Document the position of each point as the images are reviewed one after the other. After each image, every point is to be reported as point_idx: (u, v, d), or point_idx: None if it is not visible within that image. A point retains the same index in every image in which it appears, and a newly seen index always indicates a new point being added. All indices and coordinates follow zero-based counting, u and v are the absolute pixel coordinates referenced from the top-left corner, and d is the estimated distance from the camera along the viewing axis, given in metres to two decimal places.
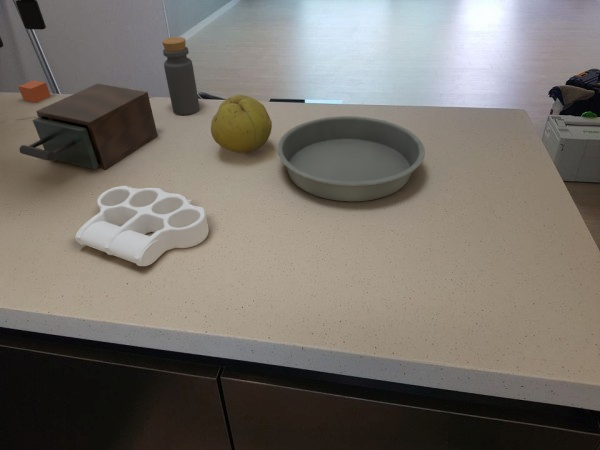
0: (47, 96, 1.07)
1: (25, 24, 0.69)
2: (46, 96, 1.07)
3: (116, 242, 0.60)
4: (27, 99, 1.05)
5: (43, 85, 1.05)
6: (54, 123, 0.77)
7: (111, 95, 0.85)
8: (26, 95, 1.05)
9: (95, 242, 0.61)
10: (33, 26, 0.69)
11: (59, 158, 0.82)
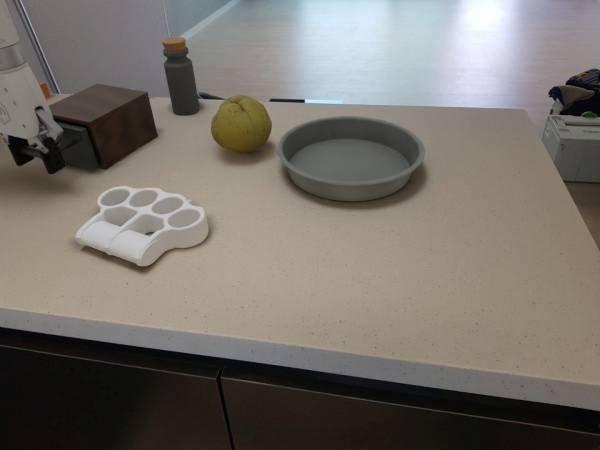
0: (47, 96, 1.07)
1: (20, 162, 0.76)
2: (46, 96, 1.07)
3: (116, 242, 0.60)
4: None
5: (43, 85, 1.05)
6: None
7: (111, 95, 0.85)
8: None
9: (95, 242, 0.61)
10: (27, 160, 0.77)
11: None
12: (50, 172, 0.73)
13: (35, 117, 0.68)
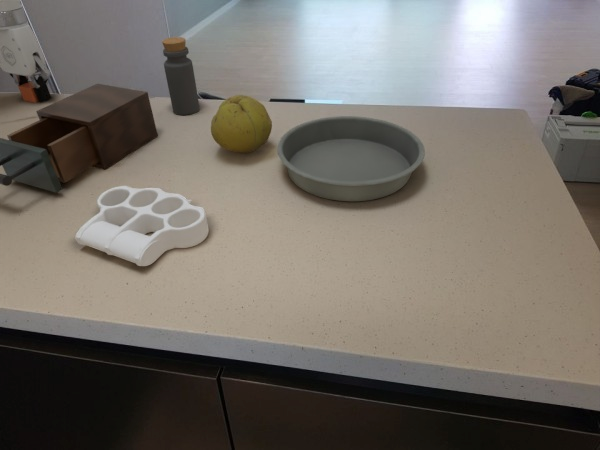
0: None
1: None
2: None
3: (116, 242, 0.60)
4: (27, 99, 1.05)
5: None
6: (13, 143, 0.72)
7: (111, 95, 0.85)
8: (26, 95, 1.05)
9: (95, 242, 0.61)
10: None
11: (20, 180, 0.76)
12: None
13: (33, 60, 0.99)
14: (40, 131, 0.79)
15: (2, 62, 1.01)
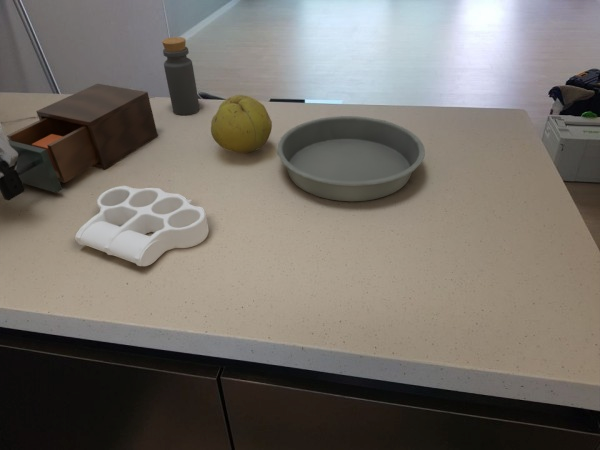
0: None
1: None
2: None
3: (116, 242, 0.60)
4: None
5: None
6: (12, 143, 0.72)
7: (111, 95, 0.85)
8: None
9: (95, 242, 0.61)
10: None
11: None
12: (6, 197, 0.68)
13: None
14: (40, 131, 0.79)
15: None
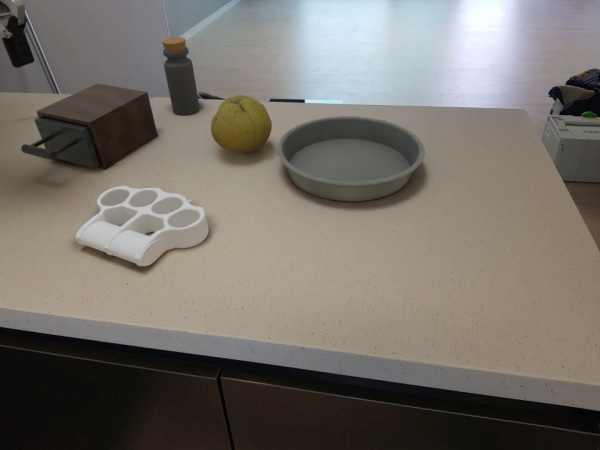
0: None
1: None
2: None
3: (116, 242, 0.60)
4: None
5: None
6: (56, 122, 0.78)
7: (111, 95, 0.85)
8: None
9: (95, 242, 0.61)
10: None
11: (61, 157, 0.82)
12: (15, 64, 0.63)
13: None
14: None
15: None
